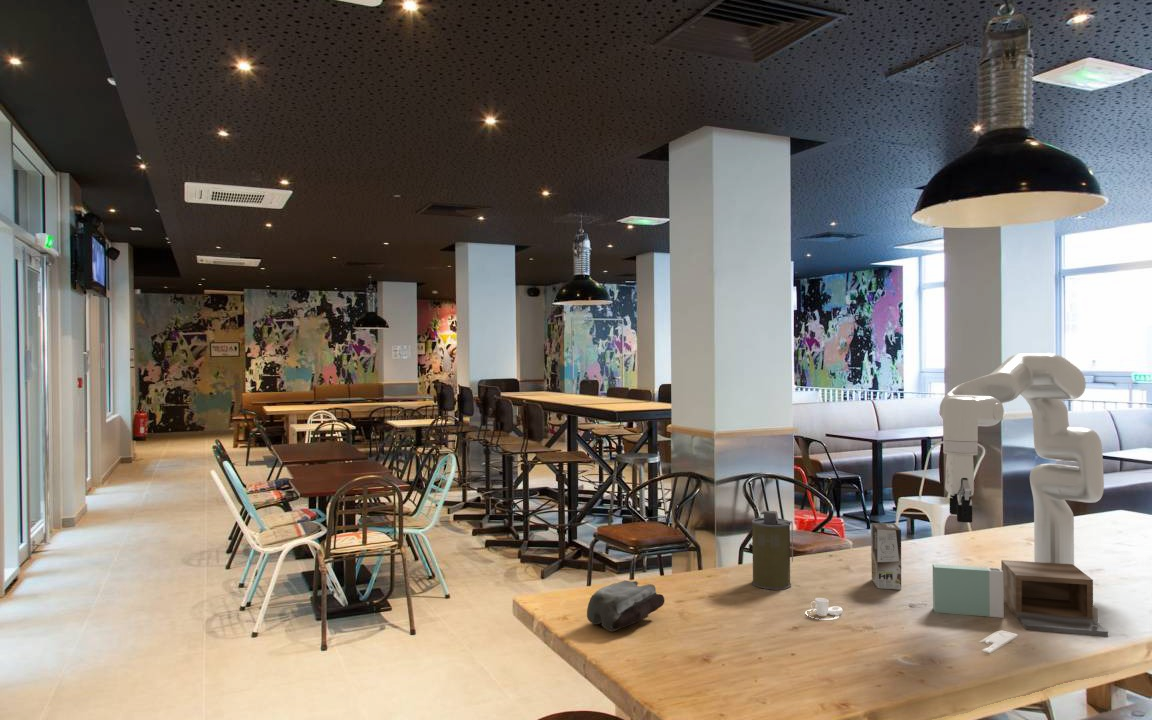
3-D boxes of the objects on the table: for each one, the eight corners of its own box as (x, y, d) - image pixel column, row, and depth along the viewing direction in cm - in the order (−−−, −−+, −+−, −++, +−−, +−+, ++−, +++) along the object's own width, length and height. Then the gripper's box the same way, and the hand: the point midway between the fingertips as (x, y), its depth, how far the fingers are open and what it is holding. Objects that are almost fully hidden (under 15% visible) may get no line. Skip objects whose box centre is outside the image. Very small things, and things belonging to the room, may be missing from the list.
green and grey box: (933, 608, 189) (932, 564, 189) (1000, 613, 185) (1000, 568, 185) (935, 612, 186) (934, 567, 186) (1003, 617, 182) (1003, 571, 182)
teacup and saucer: (842, 613, 188) (842, 596, 188) (842, 623, 180) (842, 606, 180) (805, 609, 191) (805, 593, 191) (804, 620, 183) (804, 603, 183)
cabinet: (1001, 599, 196) (1001, 560, 196) (1073, 604, 191) (1072, 564, 191) (1026, 629, 174) (1026, 585, 174) (1108, 636, 169) (1107, 591, 169)
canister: (749, 587, 208) (748, 514, 208) (755, 577, 217) (754, 507, 217) (790, 592, 204) (789, 517, 204) (794, 581, 213) (794, 509, 213)
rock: (622, 641, 170) (622, 603, 170) (579, 630, 177) (579, 594, 177) (667, 617, 185) (667, 583, 185) (626, 608, 192) (626, 575, 192)
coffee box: (902, 590, 204) (901, 529, 204) (876, 588, 206) (876, 529, 206) (895, 580, 213) (894, 522, 213) (870, 579, 215) (870, 521, 215)
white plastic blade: (965, 649, 164) (965, 643, 164) (994, 632, 174) (994, 627, 174) (990, 655, 160) (990, 650, 160) (1018, 638, 170) (1018, 633, 170)
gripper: (937, 443, 196) (937, 510, 195) (949, 451, 179) (950, 524, 179) (970, 444, 193) (970, 512, 193) (985, 452, 177) (985, 526, 177)
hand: (960, 518), depth 186 cm, fingers open, 9 cm apart
